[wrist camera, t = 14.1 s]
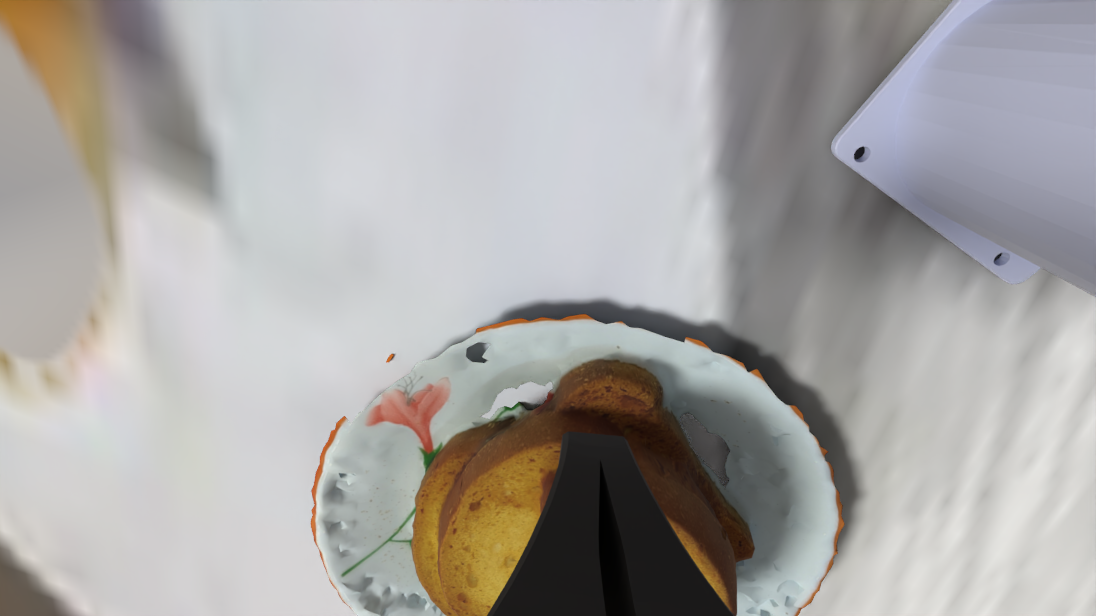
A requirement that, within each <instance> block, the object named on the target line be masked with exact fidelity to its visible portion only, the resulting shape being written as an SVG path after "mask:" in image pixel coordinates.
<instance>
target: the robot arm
mask: <svg viewBox="0 0 1096 616" xmlns="http://www.w3.org/2000/svg"><path fill="white" fill-rule="evenodd" d="M863 146H864V147H865V152H864V154H863V156H862V157H860V158H859V159H856V160H855V159H854V153H855V151H856V150H857V149H858V148H860V147H863ZM831 150H832V153H833V155H834V156H835V157H836V158H838V159H839V160H840V161H842V162H843V163H844V164H846V165H847V166H849V167H850V168H851V169H853V170H854V171H855V172H857V173H858V174H859V175H861V176H862V177H863V178H865V179H866V180H868V181H869V182H870V183H872V184H873V185H874V186H876V187H877V188H878V189H880V190H881V191H882V192H884V193H885V194H886V195H888V196H889V197H891V198H892V199H893V200H895V201H896V202H897V203H899V204H900V205H901V206H903V207H904V208H905V209H907V210H908V211H910V212H911V213H912V214H914V215H915V216H916V217H918V218H919V219H920V220H922V221H923V222H924V223H926V224H927V225H929V226H930V227H931V228H933V229H934V230H935V231H937V232H938V233H939V234H941V235H942V236H943V237H945V238H946V239H947V240H949V241H950V242H952V243H953V244H954V245H956V246H957V247H958V248H960V249H961V250H962V251H964V252H965V253H966V254H968V255H969V256H971V257H972V258H973V259H975V260H976V261H977V262H979V263H980V264H981V265H983V266H984V267H985V268H987V269H988V270H990V271H991V272H992V273H994V274H995V275H996V276H998V277H999V278H1000V279H1002V280H1004V281H1005V282H1007V283H1009V284H1019V283H1022V282H1024V281H1025V280H1027V279H1028V278H1030V277H1031V276H1032V275H1033V274H1034V273H1036V272H1037V271H1038V270H1039V269H1040V268H1043V269H1044V270H1046V271H1048V272H1050V273H1052V274H1054V275H1056V276H1058V277H1059V278H1061V279H1063V280H1065V281H1067V282H1069V283H1071V284H1073V285H1074V286H1076V287H1078V288H1080V289H1082V290H1084V291H1086V292H1088V293H1089V294H1091V295H1093V296H1095V297H1096V0H953V1H952V2H951V3H950V5H949V6H948V7H947V8H946V9H945V10H944V11H943V13H942V14H941V15H940V16H939V17H938V18H937V20H936V21H935V22H934V23H933V24H932V25H931V26H930V28H929V29H928V30H927V31H926V32H925V33H924V35H923V36H922V37H921V38H920V39H919V40H918V42H917V43H916V44H915V45H914V46H913V47H912V48H911V50H910V51H909V52H908V53H907V54H906V55H905V57H904V58H903V59H902V60H901V61H900V62H899V63H898V65H897V66H896V67H895V68H894V69H893V70H892V72H891V73H890V74H889V75H888V76H887V77H886V78H885V80H884V81H883V82H882V83H881V84H880V85H879V87H878V88H877V89H876V90H875V91H874V92H873V93H872V95H871V96H870V97H869V98H868V99H867V100H866V102H865V103H864V104H863V105H862V106H861V107H860V108H859V110H858V111H857V112H856V113H855V114H854V115H853V117H852V118H851V119H850V120H849V121H848V122H847V123H846V125H845V126H844V127H843V128H842V129H841V130H840V132H839V133H838V134H837V135H836V136H835V138H834V140H833V141H832V145H831ZM1000 253H1002V255H1001V257H1000V258H999V259H997V260H996V261H994V258H995V257H996V256H997V255H998V254H1000ZM487 616H734V615H733V613H732V612H731V611H730V610H729V608H728V607H727V606H726V605H725V603H724V602H723V601H722V599H721V598H720V597H719V595H718V594H717V593H716V591H715V590H714V589H713V587H712V586H711V585H710V583H709V582H708V581H707V579H706V578H705V576H704V575H703V574H702V572H701V571H700V569H699V568H698V566H697V565H696V563H695V562H694V561H693V559H692V558H691V556H690V555H689V553H688V551H687V550H686V548H685V547H684V545H683V544H682V542H681V541H680V539H679V538H678V536H677V534H676V533H675V531H674V530H673V528H672V526H671V525H670V523H669V521H668V520H667V518H666V516H665V514H664V513H663V511H662V509H661V507H660V506H659V504H658V502H657V500H656V499H655V497H654V495H653V493H652V491H651V489H650V488H649V486H648V484H647V482H646V480H645V478H644V476H643V474H642V472H641V470H640V468H639V466H638V464H637V462H636V459H635V457H634V455H633V453H632V451H631V448H630V446H629V444H628V441H627V440H626V439H625V438H624V437H623V436H612V435H602V434H591V433H581V432H570V431H568V432H566V433H565V434H563V435H562V442H561V450H560V457H559V464H558V468H557V471H556V475H555V478H554V481H553V484H552V487H551V489H550V492H549V495H548V498H547V500H546V503H545V506H544V508H543V511H542V513H541V515H540V517H539V519H538V522H537V524H536V526H535V528H534V531H533V533H532V535H531V537H530V539H529V541H528V544H527V546H526V548H525V550H524V552H523V554H522V555H521V557H520V559H519V561H518V563H517V565H516V567H515V569H514V570H513V572H512V574H511V576H510V578H509V579H508V581H507V583H506V585H505V586H504V588H503V590H502V591H501V593H500V595H499V596H498V598H497V600H496V601H495V603H494V605H493V606H492V608H491V610H490V611H489V613H488V614H487Z"/></svg>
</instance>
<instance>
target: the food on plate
mask: <svg viewBox="0 0 1096 616" xmlns="http://www.w3.org/2000/svg"><path fill="white" fill-rule="evenodd" d="M478 342H482V343H488V344H491V345H490V346H489V347H488V349H487V350H486V352H485V353H484V354H483V356H482V357H483V358H484V359H486V360H488V361H486V362H485V363H478V362H471V361H470V360H469V359H468V358H467V357H466V350H467V348H468V347H470V346H472V345H474V344H476V343H478ZM392 357H393V354H391V355H390V356H389V357H388V359H387V361H386V362H389V361H390V360H391V358H392ZM530 381H531V382H534V383H536V384H539V385H543V386H545V385H546V384H547V383H548V382H552V384H553V389H552V390H551V391H550V392H549V393H548V396H547V400H546V401H545V402H544V404H543V405H541V406H539V407H537V408H536V409H534V410H526V409H525V408H524V405H522V404H521V403H520V402H518V403H517V404H516V405H515V406H514V407H512V408H509V407H506V406H504V407H502V408H499V409H498V410H497V411H496V412H495V414H494V415H493V416H492V417H491V419H487V418H482V417H480V416H482V415H484V414H485V413H487V412H489V411H490V409H491V407H492V405H493V403H494V401H495V399H496V397H497V395H498V394H499V393H500V392H502V391H503V390H504V389H507V388H511V387H512V388H516V389H517V388H518V387H519V386H520V385H522V384H525V383H527V382H530ZM685 413H690V414H692V415H693V416H694V418H695V419H697V420H698V421H699V422H700V423H701V424H702V425H703V426H704V427H705V428H706V429H707V432H708V433H712V434H717V435H719V436H720V437H721V438H722V439H724V441H725V442H726V444H727V446H728V447H729V449H730V451H731V452H730V453H729V454H728V456H727V461H726V464H725V470H726V475H727V477H728V478H729V479H730V480H729V482H728V483H727V485H726V487H725V488H724V486H723V485H722V484H721V483H720V482H719V481H720V480H719V479H718V477H717V475H716V474H715V473H714V472H713V471H712V470H711V469H710V468H709V467H708V466H707V465H705V464H704V463H703V461H702V460H701V459H700V458H699V457H697V455H696V454H695V453H694V451H693V450H692V449H691V447H690V445H689V441H690V439H689V438H688V437H687V436H686V435H685V433H684V431H683V430H682V428H681V426H680V423H679V420H680V417H681V415H682V414H685ZM568 431H570V432H581V433H591V434H602V435H612V436H623V437H624V438H625V439H626V440H627V441H628V444H629V446H630V448H631V451H632V453H633V455H634V457H635V459H636V462H637V464H638V466H639V468H640V470H641V472H642V474H643V476H644V478H645V480H646V482H647V484H648V486H649V488H650V489H651V491H652V493H653V495H654V497H655V499H656V500H657V502H658V504H659V506H660V507H661V509H662V511H663V513H664V514H665V516H666V518H667V520H668V521H669V523H670V525H671V526H672V528H673V530H674V531H675V533H676V534H677V536H678V538H679V539H680V541H681V542H682V544H683V545H684V547H685V548H686V550H687V551H688V553H689V555H690V556H691V558H692V559H693V561H694V562H695V563H696V565H697V566H698V568H699V569H700V571H701V572H702V574H703V575H704V576H705V578H706V579H707V581H708V582H709V583H710V585H711V586H712V587H713V589H714V590H715V591H716V593H717V594H718V595H719V597H720V598H721V599H722V601H723V602H724V603H725V605H726V606H727V607H728V608H729V610H730V611H731V612H732V613H733V615H734V616H798V615H799V613H800V611H801V609H802V608H804V607H805V606H807V605H808V604H810V603H811V602H812V600H813V598H814V596H815V594H816V593H817V592H818V591H819V590H820V586H821V582H822V581H823V579H824V578H825V576H826V575H827V573H828V572H829V570H830V568H831V567H832V565H833V558H834V555H836V554H838V552H837V545H836V544H837V540H838V536H839V533H840V531H841V530H842V528H843V526H844V525H845V524H844V521H843V519H842V516H841V514H842V507H843V505H842V504H841V502H840V496H839V492H838V490H837V489H836V488H835V485H834V480H833V477H834V471H833V468H832V466H831V465H830V463H829V462H827V461H825V457H824V456H825V454H826V453H827V452H828V451H827V450H825V449H824V448H822V447H821V446H819V441H818V440H817V438H816V437H815V436H814V435H812V434H811V433H810V432H809V425H808V424H807V423H806V422H805V421H804V419H803V414H802V413H801V412H800V411H799V409H798V408H797V407H796V406H791V405H785V404H784V403H783V402H782V401H780V400H779V399H778V398H777V397H776V395H775V394H774V393H773V392H772V390H771V389H770V388H769V386H768V385H767V384H766V382H765V380H764V379H763V377H762V376H761V374H760V373H759V371H758V369H756V370H753V371H751V372H747V370H746V368H745V366H744V364H743V363H741V362H739V361H737V360H735V359H733V358H731V357H729V356H727V355H723V354H718V353H714V352H712V351H711V349H710V348H709V347H708V346H707V345H706V344H704V343H703V342H702V341H699V340H695V339H692V338H688V337H686V338H685V342H681V341H677V340H674V339H671V338H667V337H664V336H661V335H658V334H656V333H653V332H650V331H647V330H644V329H641V328H632V327H628V326H627V325H626V324H624V323H623V322H622V321H619V322H615V323H610V324H604V323H601V322H598V321H596V320H594V319H593V318H591V317H589V316H588V315H586V314H581V315H574V316H568V317H565V318H563V319H560V320H556V319H550V318H544V317H541V318H538V319H535V320H532V321H528V320H525V319H523V318H519V319H513V320H509V321H505V322H502V323H498V324H494V325H490V326H486V327H482V328H478V329H477V330H476V334H474V335H473V336H471V337H470V338H468V339H467V340H465V341H464V342H461V343H458V344H455V345H452V346H451V347H449V348H448V349H447V350H446V351H444V352H443V353H442V354H441V355H439V356H438V357H437V358H433V359H430V360H426V361H422V362H419V363H417V364H416V365H415V367H414V368H413V370H412V371H411V373H410V374H408V375H407V376H405V377H403V378H402V379H400V380H399V381H397V382H395V383H394V384H393V385H392V386H390V387H389V388H388V389H387V390H385V391H384V392H383V393H382V394H380V395H379V396H378V397H377V398H376V399H375V400H374V401H373V402H372V403H371V404H370V405H369V406H368V407H367V408H366V409H365V410H364V411H362V412H359V413H358V415H357V416H356V418H355V419H354V421H353V422H352V424H351V423H350V422H349V420H348V419H347V418H346V417H345V416H344V417H343V418H342V419H340V420H339V421H338V422H337V423H336V428H335V430H333V431H331V434H330V437H329V440H328V442H327V443H326V445H325V446H324V448H323V451H322V453H321V456H320V464H319V467H318V469H317V472H316V476H315V482H314V486H313V489H312V496H313V500H314V504H315V506H314V507H313V509H312V514H313V516H312V519H311V528H312V532H313V535H314V541H315V543H316V545H317V547H318V549H319V552H320V556H321V559H322V561H323V564H324V567H325V569H326V572H327V574H328V577H329V580H330V582H331V584H332V585H333V587H334V588H335V589H336V590H337V591H338V594H339V596H340V598H341V599H342V601H343V602H344V603H345V604H347V605H348V606H349V607H350V608H351V609H352V610H353V612H354V613H355V614H356V615H357V616H487V614H488V613H489V611H490V610H491V608H492V606H493V605H494V603H495V601H496V600H497V598H498V596H499V595H500V593H501V591H502V590H503V588H504V586H505V585H506V583H507V581H508V579H509V578H510V576H511V574H512V572H513V570H514V569H515V567H516V565H517V563H518V561H519V559H520V557H521V555H522V554H523V552H524V550H525V548H526V546H527V544H528V541H529V539H530V537H531V535H532V533H533V531H534V528H535V526H536V524H537V522H538V519H539V517H540V515H541V513H542V511H543V508H544V506H545V503H546V500H547V498H548V495H549V492H550V489H551V487H552V484H553V481H554V478H555V475H556V471H557V468H558V464H559V457H560V450H561V442H562V435H563V434H565V433H566V432H568Z"/></svg>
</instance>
